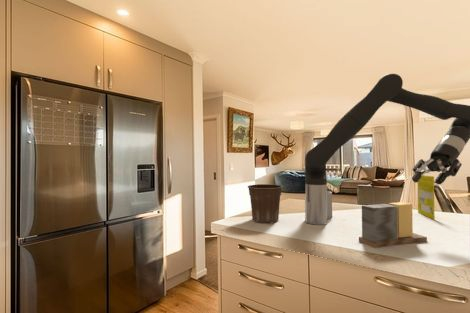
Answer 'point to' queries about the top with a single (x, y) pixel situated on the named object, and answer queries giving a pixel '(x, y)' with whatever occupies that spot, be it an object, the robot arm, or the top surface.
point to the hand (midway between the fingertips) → (425, 182)
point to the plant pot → (265, 202)
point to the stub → (404, 219)
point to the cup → (329, 204)
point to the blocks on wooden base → (383, 227)
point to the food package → (426, 196)
